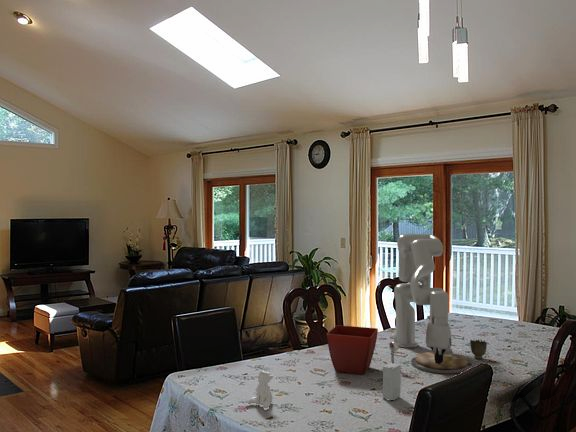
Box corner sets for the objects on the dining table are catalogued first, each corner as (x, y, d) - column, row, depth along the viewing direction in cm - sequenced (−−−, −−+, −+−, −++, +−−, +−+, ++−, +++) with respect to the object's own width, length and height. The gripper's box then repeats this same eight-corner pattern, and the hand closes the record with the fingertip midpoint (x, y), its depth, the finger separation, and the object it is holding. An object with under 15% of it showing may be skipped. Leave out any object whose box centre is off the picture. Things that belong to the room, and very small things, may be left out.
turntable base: (400, 366, 231) (400, 363, 231) (427, 354, 250) (427, 351, 250) (456, 378, 214) (456, 375, 214) (481, 364, 233) (481, 361, 233)
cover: (437, 360, 229) (437, 350, 229) (434, 356, 236) (434, 346, 236) (453, 360, 228) (453, 351, 228) (450, 356, 235) (450, 347, 235)
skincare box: (390, 394, 195) (390, 362, 195) (401, 397, 192) (401, 364, 192) (382, 399, 190) (381, 366, 190) (393, 402, 187) (393, 368, 187)
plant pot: (378, 365, 232) (378, 327, 232) (370, 378, 214) (370, 337, 214) (336, 361, 238) (336, 324, 238) (325, 373, 220) (325, 333, 220)
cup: (488, 361, 239) (488, 343, 239) (471, 360, 240) (471, 342, 240) (485, 356, 246) (485, 339, 246) (469, 355, 248) (469, 339, 248)
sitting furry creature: (244, 406, 183) (244, 372, 183) (258, 398, 191) (258, 366, 191) (266, 411, 178) (266, 376, 178) (279, 403, 186) (279, 370, 186)
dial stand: (384, 368, 228) (384, 340, 228) (390, 365, 232) (390, 338, 232) (396, 371, 224) (396, 343, 224) (402, 368, 228) (402, 341, 228)
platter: (422, 369, 221) (422, 356, 221) (410, 355, 243) (410, 343, 243) (475, 369, 221) (475, 356, 220) (458, 355, 243) (458, 343, 243)
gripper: (418, 319, 224) (418, 361, 225) (451, 324, 214) (451, 368, 215) (427, 316, 230) (426, 357, 230) (459, 321, 220) (459, 364, 220)
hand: (438, 362), depth 223 cm, fingers closed
